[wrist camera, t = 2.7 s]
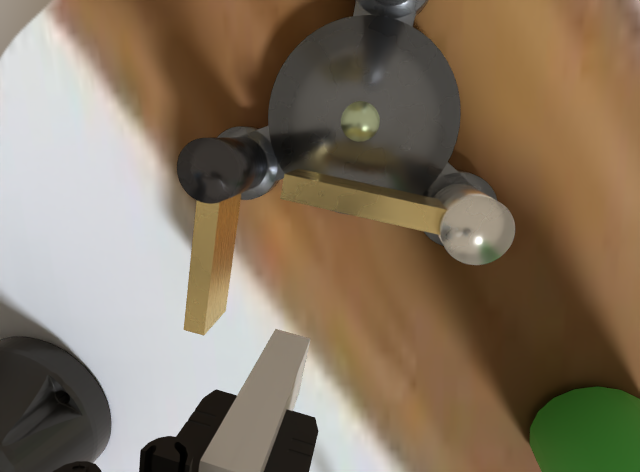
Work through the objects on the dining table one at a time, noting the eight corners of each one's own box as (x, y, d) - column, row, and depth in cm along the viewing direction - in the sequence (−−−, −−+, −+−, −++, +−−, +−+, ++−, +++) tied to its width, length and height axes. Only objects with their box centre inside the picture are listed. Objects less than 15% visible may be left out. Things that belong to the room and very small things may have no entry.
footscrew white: (494, 190, 24) (525, 205, 19) (476, 242, 25) (501, 272, 20) (305, 150, 25) (285, 154, 20) (296, 202, 26) (274, 219, 21)
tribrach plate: (214, 188, 28) (199, 193, 26) (245, -90, 23) (231, -114, 21) (478, 248, 26) (487, 259, 24) (575, -42, 21) (597, -62, 19)
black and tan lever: (221, 132, 26) (179, 131, 20) (271, 143, 25) (242, 145, 20) (203, 294, 29) (163, 329, 24) (246, 305, 29) (216, 343, 24)
